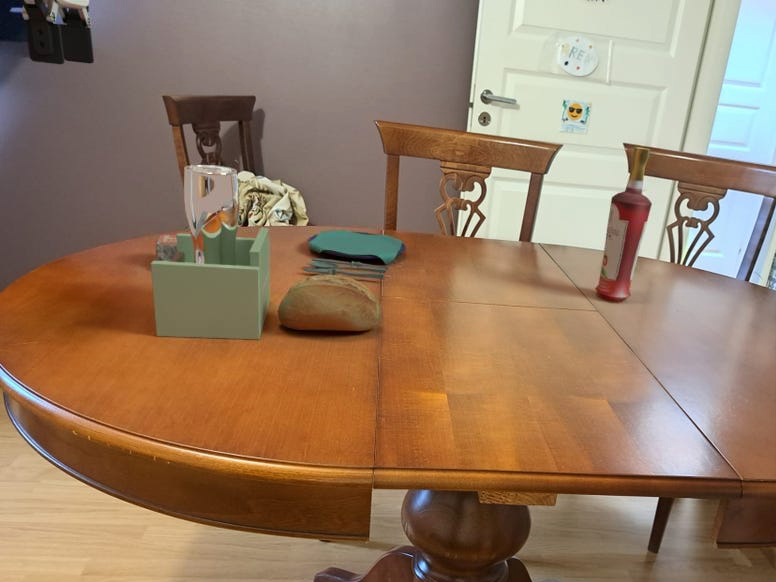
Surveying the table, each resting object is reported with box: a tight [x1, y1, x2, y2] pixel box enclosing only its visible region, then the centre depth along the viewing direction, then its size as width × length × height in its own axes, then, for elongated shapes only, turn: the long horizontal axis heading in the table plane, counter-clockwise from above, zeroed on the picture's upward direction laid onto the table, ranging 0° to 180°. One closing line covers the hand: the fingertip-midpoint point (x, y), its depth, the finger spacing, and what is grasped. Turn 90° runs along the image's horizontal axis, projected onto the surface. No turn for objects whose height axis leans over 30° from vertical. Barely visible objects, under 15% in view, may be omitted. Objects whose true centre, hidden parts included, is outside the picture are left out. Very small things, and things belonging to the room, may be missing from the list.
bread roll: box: [277, 274, 384, 332], centre depth 96 cm, size 10×15×8 cm, turn 102°
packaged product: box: [154, 234, 177, 262], centre depth 117 cm, size 18×5×10 cm
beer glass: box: [183, 164, 241, 265], centre depth 91 cm, size 7×7×15 cm
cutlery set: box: [302, 229, 407, 280], centre depth 132 cm, size 20×30×2 cm, turn 0°
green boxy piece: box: [150, 227, 271, 341], centre depth 94 cm, size 13×16×12 cm
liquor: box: [594, 146, 653, 303], centre depth 123 cm, size 7×7×28 cm
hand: (64, 62), depth 77 cm, fingers open, 9 cm apart
